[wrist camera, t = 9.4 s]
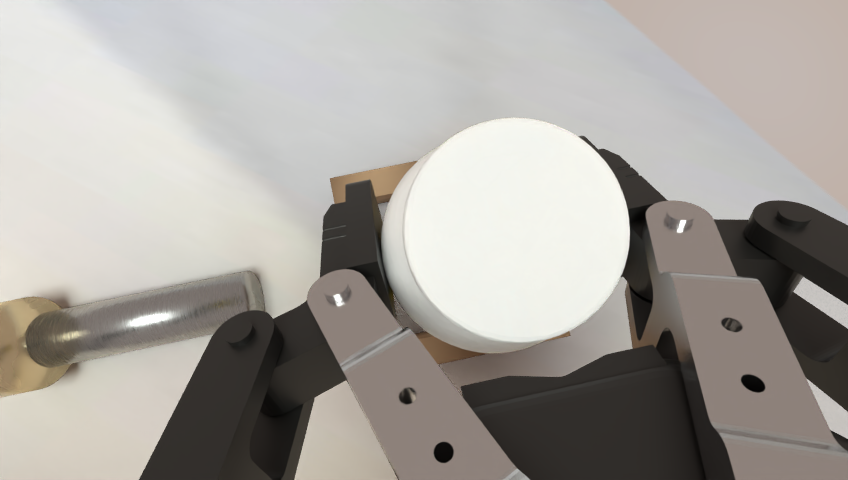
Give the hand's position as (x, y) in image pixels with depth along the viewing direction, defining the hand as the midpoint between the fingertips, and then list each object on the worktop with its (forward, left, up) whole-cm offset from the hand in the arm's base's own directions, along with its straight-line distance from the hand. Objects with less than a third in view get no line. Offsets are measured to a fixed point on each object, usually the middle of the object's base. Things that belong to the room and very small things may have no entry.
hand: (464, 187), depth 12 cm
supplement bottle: (0, -2, -5) cm, 5 cm away
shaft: (-18, -2, -12) cm, 22 cm away
